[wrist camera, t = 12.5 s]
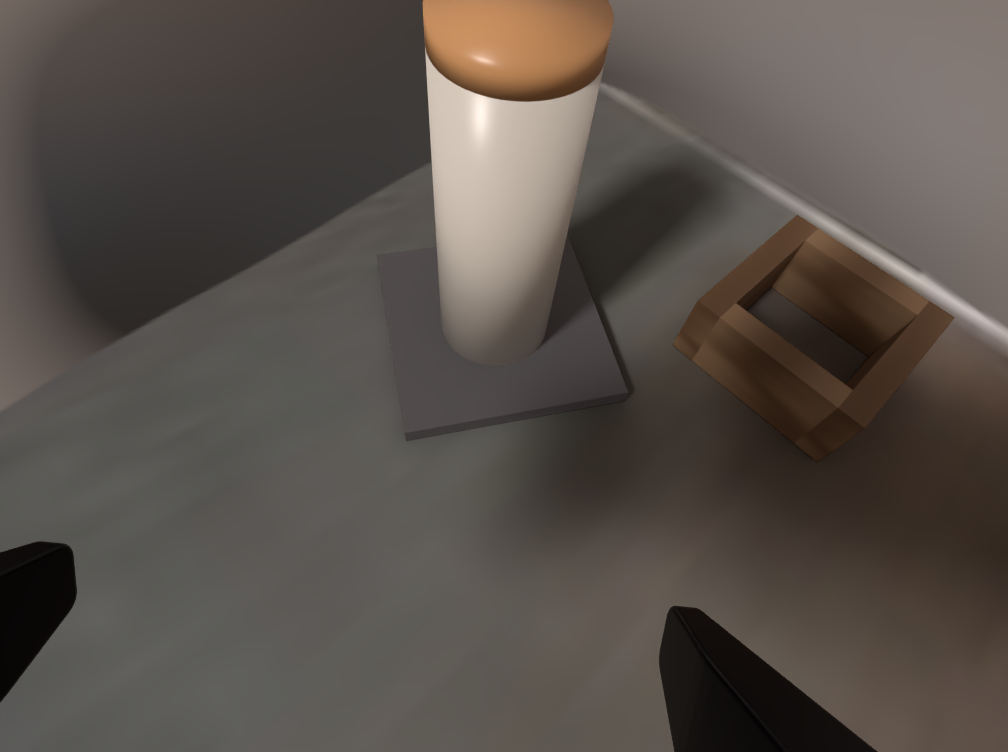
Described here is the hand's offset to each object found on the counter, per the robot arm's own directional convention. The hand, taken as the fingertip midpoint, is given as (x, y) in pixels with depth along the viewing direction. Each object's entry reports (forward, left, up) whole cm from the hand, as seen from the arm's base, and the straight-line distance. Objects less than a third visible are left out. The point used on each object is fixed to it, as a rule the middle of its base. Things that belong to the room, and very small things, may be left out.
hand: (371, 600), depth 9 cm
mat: (+14, -6, -14) cm, 20 cm away
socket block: (+10, -20, -14) cm, 26 cm away
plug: (+14, -5, -13) cm, 19 cm away
